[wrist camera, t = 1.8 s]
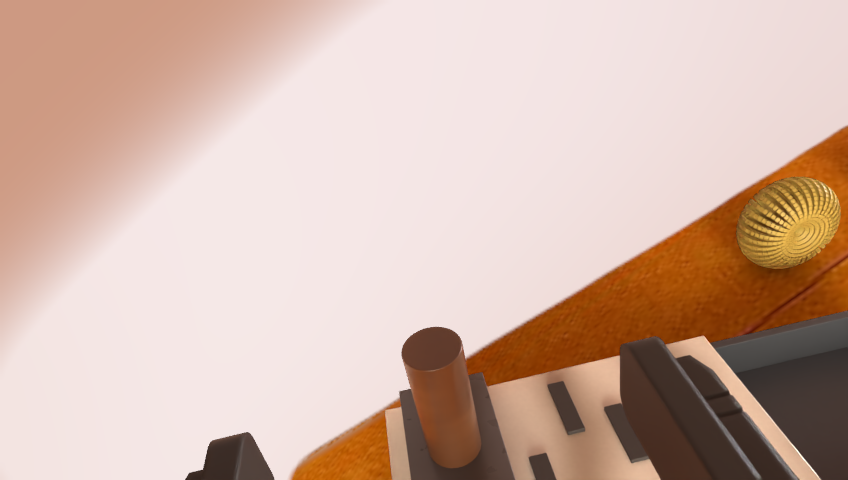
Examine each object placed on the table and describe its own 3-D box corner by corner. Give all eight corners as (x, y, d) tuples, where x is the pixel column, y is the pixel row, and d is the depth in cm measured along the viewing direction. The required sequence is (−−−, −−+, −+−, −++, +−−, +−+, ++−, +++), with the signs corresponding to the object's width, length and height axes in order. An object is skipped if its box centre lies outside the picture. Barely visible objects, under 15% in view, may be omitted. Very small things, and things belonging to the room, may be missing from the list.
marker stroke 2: (568, 435, 32) (567, 432, 32) (547, 387, 35) (547, 384, 35) (585, 431, 32) (585, 428, 32) (563, 383, 35) (563, 380, 35)
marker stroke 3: (631, 463, 30) (631, 460, 30) (603, 410, 33) (603, 406, 33) (650, 459, 30) (650, 455, 30) (620, 406, 33) (620, 402, 33)
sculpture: (805, 239, 51) (823, 158, 47) (841, 264, 48) (864, 179, 43) (720, 262, 51) (731, 182, 46) (751, 288, 47) (765, 205, 43)
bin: (769, 605, 29) (779, 570, 27) (640, 392, 41) (642, 358, 39) (1097, 524, 29) (1129, 485, 27) (875, 337, 41) (887, 300, 39)
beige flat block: (426, 650, 30) (403, 594, 27) (403, 468, 39) (384, 410, 36) (808, 558, 30) (831, 491, 27) (696, 399, 40) (703, 335, 36)
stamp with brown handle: (428, 566, 28) (386, 441, 22) (407, 417, 35) (371, 299, 30) (530, 541, 28) (511, 411, 23) (487, 399, 35) (465, 277, 30)
